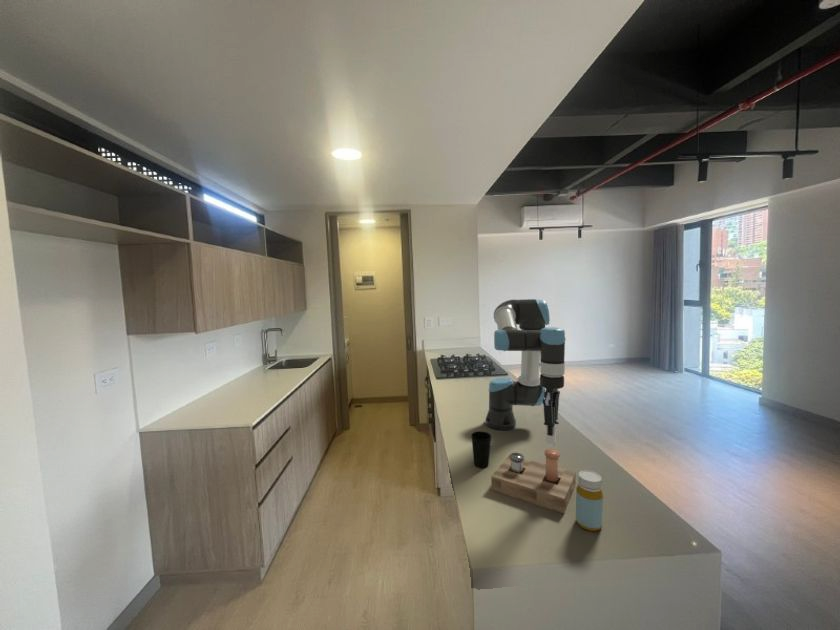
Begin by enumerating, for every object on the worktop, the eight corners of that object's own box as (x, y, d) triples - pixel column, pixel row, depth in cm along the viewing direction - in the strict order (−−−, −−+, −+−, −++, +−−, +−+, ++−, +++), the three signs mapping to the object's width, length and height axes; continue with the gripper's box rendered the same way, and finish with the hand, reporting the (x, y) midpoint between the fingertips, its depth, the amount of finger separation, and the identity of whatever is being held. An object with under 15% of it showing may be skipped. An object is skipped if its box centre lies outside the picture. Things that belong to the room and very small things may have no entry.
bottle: (594, 516, 108) (595, 469, 106) (606, 532, 101) (608, 482, 99) (571, 516, 108) (572, 470, 106) (582, 533, 101) (584, 483, 99)
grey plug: (512, 475, 130) (512, 451, 129) (525, 478, 127) (525, 454, 126) (508, 481, 126) (508, 457, 125) (521, 485, 123) (521, 460, 122)
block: (509, 467, 137) (509, 454, 137) (575, 485, 124) (575, 472, 123) (491, 489, 122) (491, 476, 122) (564, 514, 109) (564, 498, 108)
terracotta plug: (546, 472, 122) (546, 447, 122) (560, 476, 120) (561, 451, 119) (542, 479, 118) (542, 453, 118) (557, 483, 116) (558, 457, 115)
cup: (476, 471, 135) (476, 440, 134) (468, 461, 142) (468, 432, 141) (494, 467, 137) (494, 438, 136) (485, 458, 144) (485, 430, 143)
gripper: (545, 369, 124) (544, 433, 126) (534, 377, 113) (533, 448, 115) (568, 371, 119) (567, 438, 121) (559, 380, 109) (558, 454, 111)
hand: (550, 443), depth 118 cm, fingers closed
